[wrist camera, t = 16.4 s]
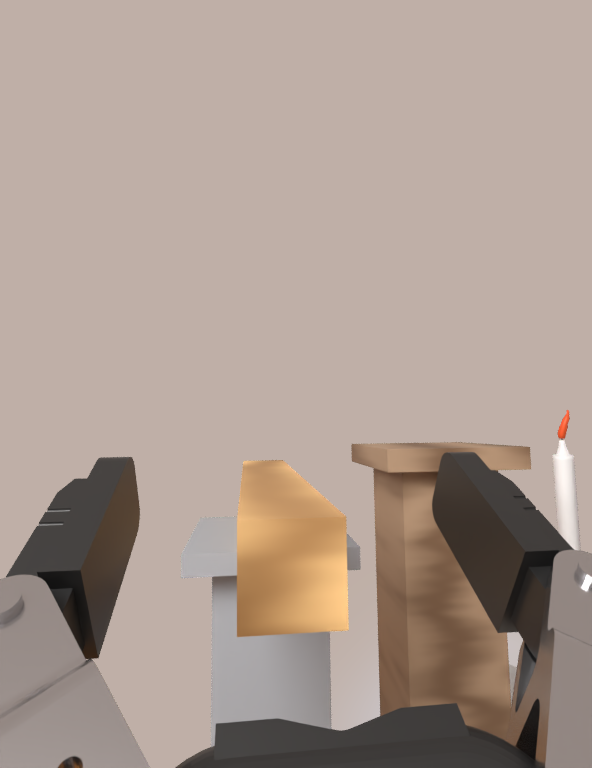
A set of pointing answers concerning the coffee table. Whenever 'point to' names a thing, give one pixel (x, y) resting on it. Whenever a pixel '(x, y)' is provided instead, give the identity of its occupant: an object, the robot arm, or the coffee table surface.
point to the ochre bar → (288, 555)
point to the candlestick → (566, 490)
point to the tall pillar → (432, 591)
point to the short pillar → (257, 643)
